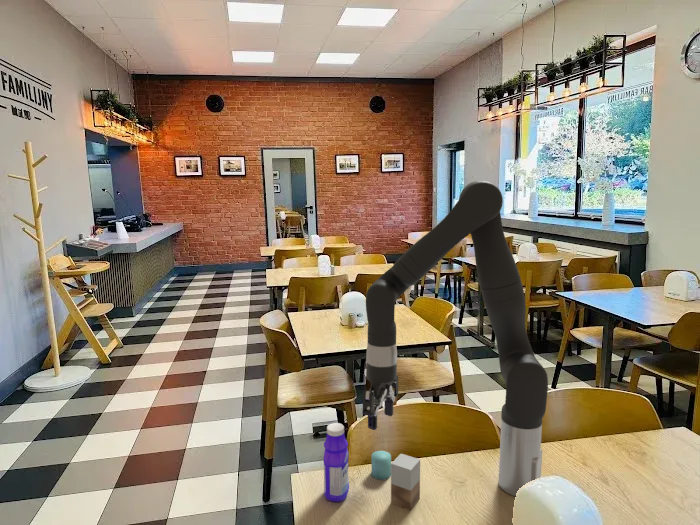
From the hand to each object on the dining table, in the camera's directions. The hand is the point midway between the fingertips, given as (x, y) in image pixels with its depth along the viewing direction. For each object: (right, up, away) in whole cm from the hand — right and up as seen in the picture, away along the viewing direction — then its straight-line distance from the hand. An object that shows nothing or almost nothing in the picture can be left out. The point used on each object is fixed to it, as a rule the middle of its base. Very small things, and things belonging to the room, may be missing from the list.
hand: (380, 421), depth 121 cm
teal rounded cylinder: (0, -14, +2) cm, 14 cm away
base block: (+5, -16, -8) cm, 19 cm away
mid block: (+5, -11, -9) cm, 15 cm away
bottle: (-11, -16, -6) cm, 20 cm away
